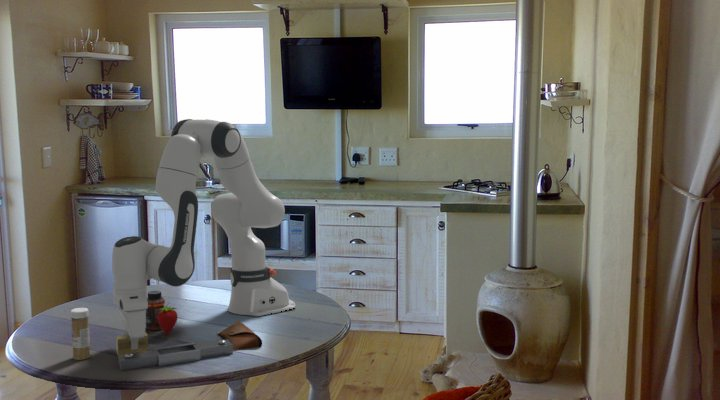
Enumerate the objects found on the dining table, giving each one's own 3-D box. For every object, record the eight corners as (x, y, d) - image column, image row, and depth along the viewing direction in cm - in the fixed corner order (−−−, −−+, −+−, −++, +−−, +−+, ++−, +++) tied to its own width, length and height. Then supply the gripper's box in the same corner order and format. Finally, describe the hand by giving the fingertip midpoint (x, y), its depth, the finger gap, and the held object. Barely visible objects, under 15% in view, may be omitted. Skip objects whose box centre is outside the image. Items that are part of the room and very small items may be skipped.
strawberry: (176, 329, 219) (175, 297, 218) (179, 337, 212) (178, 304, 211) (156, 331, 217) (155, 299, 216) (159, 339, 210) (158, 306, 209)
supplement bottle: (170, 326, 222) (168, 290, 221) (157, 332, 217) (155, 295, 215) (154, 324, 225) (153, 288, 223) (141, 329, 219) (140, 293, 218)
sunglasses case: (213, 333, 215) (224, 313, 216) (233, 341, 219) (243, 322, 220) (234, 351, 200) (245, 329, 201) (255, 360, 203) (266, 338, 204)
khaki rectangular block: (146, 349, 202) (145, 332, 201) (148, 352, 199) (147, 335, 198) (116, 353, 198) (116, 336, 198) (118, 357, 196) (117, 339, 195)
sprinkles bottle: (69, 358, 194) (67, 309, 193) (85, 353, 198) (83, 306, 196) (78, 361, 191) (75, 312, 190) (94, 357, 195) (91, 309, 193)
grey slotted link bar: (226, 346, 204) (226, 336, 203) (234, 354, 197) (233, 343, 197) (118, 363, 191) (117, 351, 190) (122, 371, 184) (121, 360, 184)
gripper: (113, 289, 204) (115, 336, 206) (124, 307, 186) (126, 358, 188) (136, 286, 207) (138, 333, 209) (149, 304, 189) (150, 354, 191)
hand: (132, 345), depth 198 cm, fingers open, 5 cm apart
